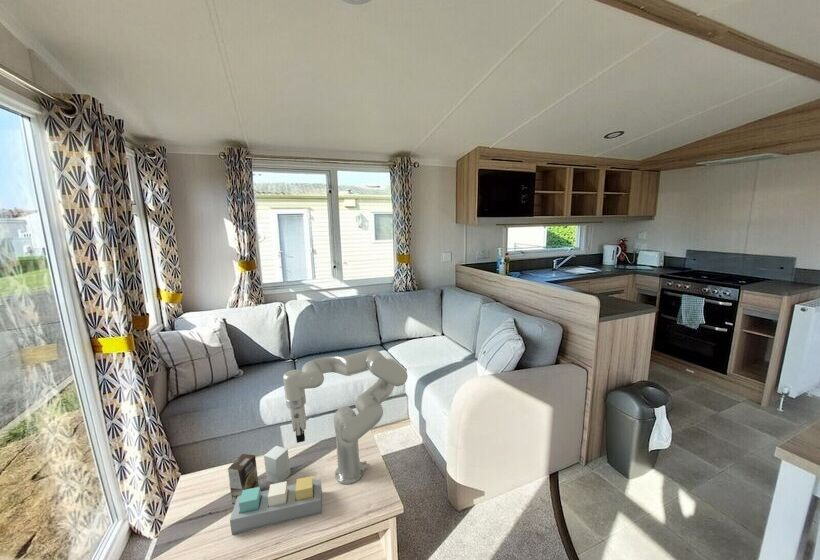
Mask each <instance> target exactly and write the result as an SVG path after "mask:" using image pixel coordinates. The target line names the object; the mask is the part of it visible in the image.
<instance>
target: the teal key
mask: <svg viewBox="0 0 820 560" xmlns="http://www.w3.org/2000/svg"><path fill="white" fill-rule="evenodd" d="M260 503H261V486H259V487H256V488H251V489H246V490H243V491H242V495H241V498H240V501H239V508H240V514H241V513H246V512H250V511H255V510H259V507H260Z"/></svg>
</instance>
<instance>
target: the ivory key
mask: <svg viewBox="0 0 820 560" xmlns="http://www.w3.org/2000/svg"><path fill="white" fill-rule="evenodd" d="M287 486H288V481H282V482H280V483H276V484H275V483H272V484H270V485H269V489H268V490H269V493H268V504H269V507H273V506H277V505H282V504H286V503H287V500H288V487H287Z"/></svg>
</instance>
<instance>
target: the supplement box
mask: <svg viewBox="0 0 820 560" xmlns="http://www.w3.org/2000/svg"><path fill="white" fill-rule="evenodd" d="M263 461H264V467H265V474H266V481H268V482H270V483H272V484H276V483H280V482H284V480H286V479H287V478H288V477H289V476H290V475H291V468H290V467H291V466H290V458H289V450H288V448H285V447H282V446H278V445H275V446H274V447H273V448H271V449H270V450H269V451H268V452H267V453H265V454H264V455H263Z"/></svg>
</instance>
